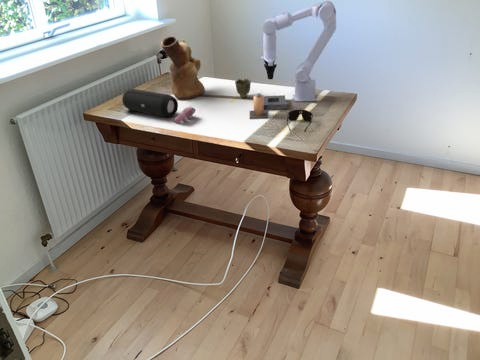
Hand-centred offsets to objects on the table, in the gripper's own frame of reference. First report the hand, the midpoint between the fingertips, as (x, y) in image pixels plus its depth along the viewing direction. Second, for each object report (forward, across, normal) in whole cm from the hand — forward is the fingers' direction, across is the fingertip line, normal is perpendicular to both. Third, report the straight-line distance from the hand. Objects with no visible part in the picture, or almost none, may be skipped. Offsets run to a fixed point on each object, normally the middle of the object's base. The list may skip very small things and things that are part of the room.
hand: (270, 76), depth 206 cm
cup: (+11, -2, -13) cm, 17 cm away
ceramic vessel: (+11, -6, -42) cm, 44 cm away
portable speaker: (+11, +13, -55) cm, 58 cm away
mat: (+10, +20, -6) cm, 24 cm away
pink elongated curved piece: (+11, +23, -38) cm, 46 cm away
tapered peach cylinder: (+10, +20, -6) cm, 23 cm away
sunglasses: (+11, +33, +11) cm, 36 cm away
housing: (+10, +10, +1) cm, 14 cm away
